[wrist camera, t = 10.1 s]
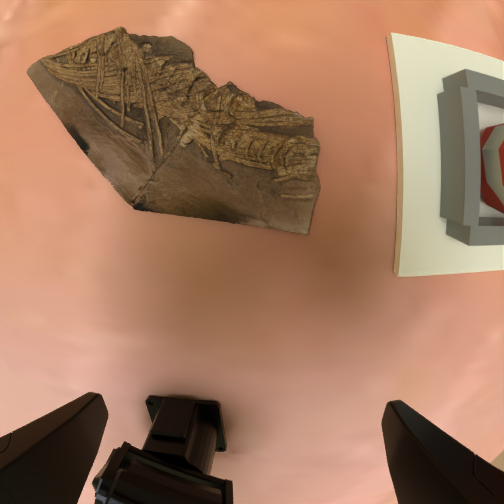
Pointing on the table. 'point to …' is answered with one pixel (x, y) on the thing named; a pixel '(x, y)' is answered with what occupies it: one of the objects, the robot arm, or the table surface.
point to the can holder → (444, 157)
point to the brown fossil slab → (181, 133)
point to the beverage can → (493, 166)
